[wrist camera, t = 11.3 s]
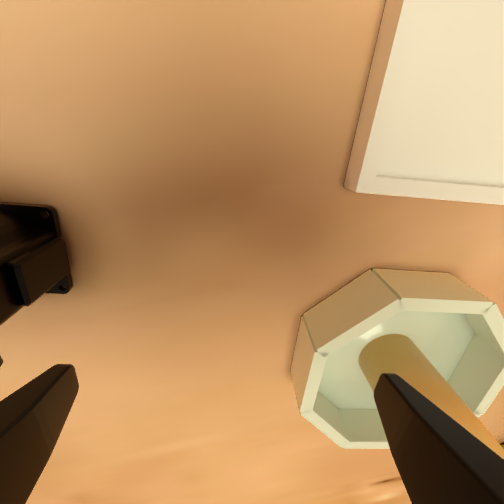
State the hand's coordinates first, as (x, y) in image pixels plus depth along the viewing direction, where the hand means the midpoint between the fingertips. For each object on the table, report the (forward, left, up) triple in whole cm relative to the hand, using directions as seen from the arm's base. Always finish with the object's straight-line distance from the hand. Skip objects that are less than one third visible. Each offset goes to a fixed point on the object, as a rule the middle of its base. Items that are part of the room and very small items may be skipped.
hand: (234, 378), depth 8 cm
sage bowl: (+14, -10, -12) cm, 21 cm away
